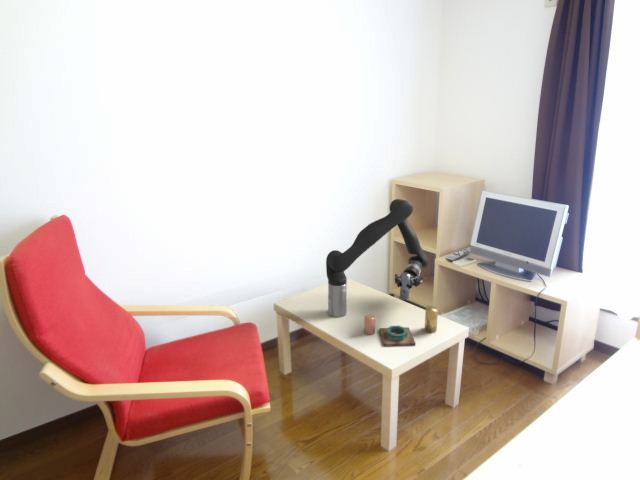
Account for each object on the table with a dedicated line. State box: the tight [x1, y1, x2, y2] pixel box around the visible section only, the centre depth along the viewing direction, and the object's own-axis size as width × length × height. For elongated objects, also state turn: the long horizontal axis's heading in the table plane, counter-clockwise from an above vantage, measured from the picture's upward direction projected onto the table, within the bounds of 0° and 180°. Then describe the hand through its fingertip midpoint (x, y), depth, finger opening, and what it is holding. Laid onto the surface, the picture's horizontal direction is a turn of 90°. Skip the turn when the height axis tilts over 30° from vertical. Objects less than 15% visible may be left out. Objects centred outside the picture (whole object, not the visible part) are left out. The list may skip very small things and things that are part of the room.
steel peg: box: [399, 271, 411, 301], centre depth 211 cm, size 4×4×12 cm
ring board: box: [378, 325, 416, 347], centre depth 206 cm, size 14×14×4 cm
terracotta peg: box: [363, 314, 376, 336], centre depth 210 cm, size 5×5×8 cm
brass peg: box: [423, 305, 439, 334], centre depth 211 cm, size 6×6×11 cm
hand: (403, 286), depth 209 cm, fingers closed on steel peg, 4 cm apart
